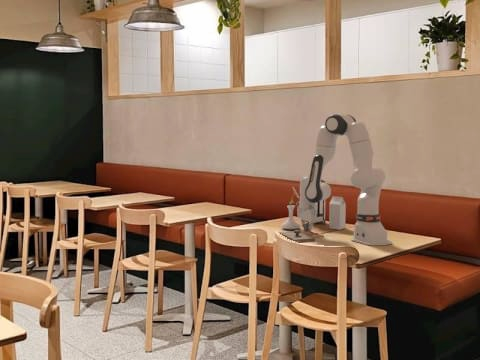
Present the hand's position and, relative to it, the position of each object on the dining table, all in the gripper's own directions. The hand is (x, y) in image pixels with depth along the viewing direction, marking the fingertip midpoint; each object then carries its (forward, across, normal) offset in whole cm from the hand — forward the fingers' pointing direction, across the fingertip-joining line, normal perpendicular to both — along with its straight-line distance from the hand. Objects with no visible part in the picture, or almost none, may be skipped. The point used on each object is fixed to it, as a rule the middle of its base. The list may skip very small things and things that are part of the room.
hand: (307, 228), depth 341 cm
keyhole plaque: (+2, -7, 0) cm, 7 cm away
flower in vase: (+3, +14, +4) cm, 15 cm away
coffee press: (+3, +27, -18) cm, 32 cm away
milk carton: (+2, +6, -22) cm, 23 cm away
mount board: (+2, -13, +12) cm, 18 cm away
